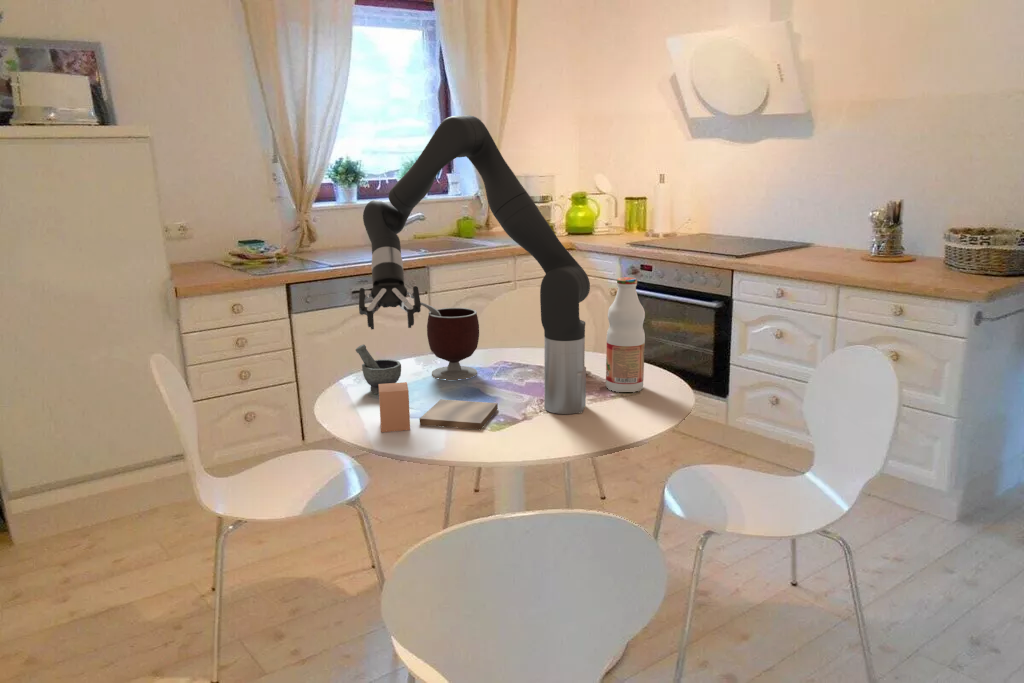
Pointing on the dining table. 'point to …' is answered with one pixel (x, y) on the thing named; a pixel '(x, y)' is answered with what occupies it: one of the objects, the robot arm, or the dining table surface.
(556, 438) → the dining table surface
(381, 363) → the mortar and pestle
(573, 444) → the dining table surface
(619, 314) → the fruit juice
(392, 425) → the tall tan upright block
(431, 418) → the walnut board
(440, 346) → the mate gourd
